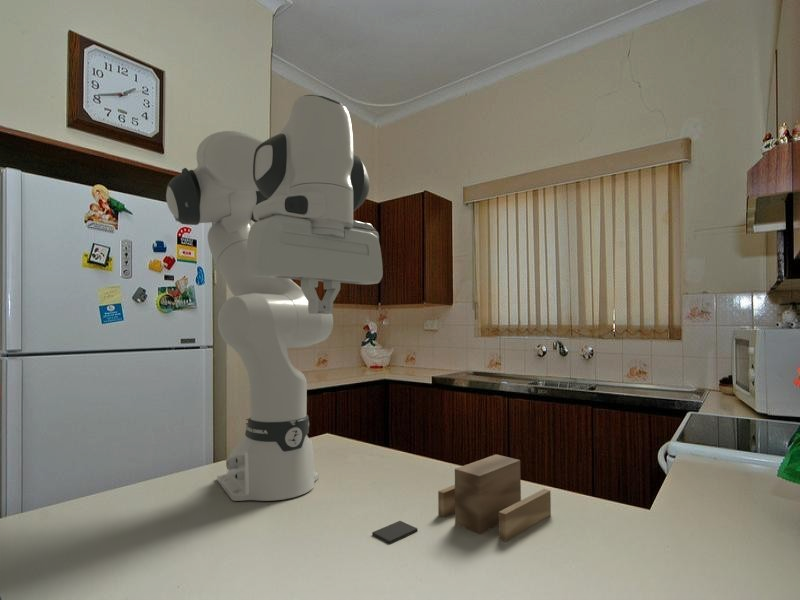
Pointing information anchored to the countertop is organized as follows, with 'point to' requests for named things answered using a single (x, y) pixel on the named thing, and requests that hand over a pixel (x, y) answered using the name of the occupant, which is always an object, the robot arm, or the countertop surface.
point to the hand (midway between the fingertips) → (320, 314)
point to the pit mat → (394, 532)
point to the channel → (506, 511)
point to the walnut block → (486, 491)
